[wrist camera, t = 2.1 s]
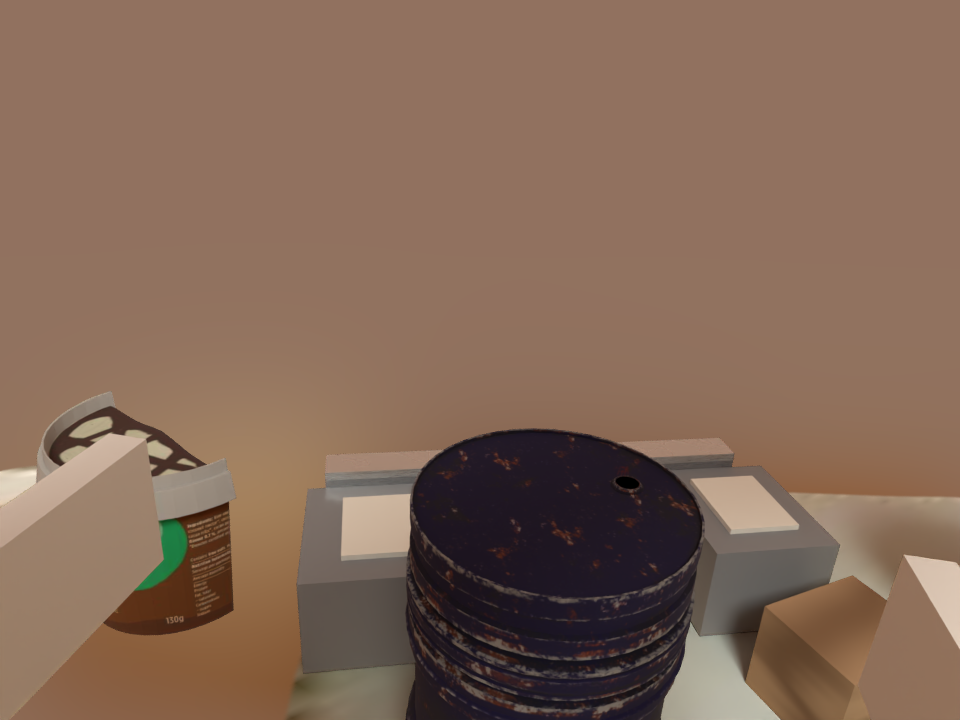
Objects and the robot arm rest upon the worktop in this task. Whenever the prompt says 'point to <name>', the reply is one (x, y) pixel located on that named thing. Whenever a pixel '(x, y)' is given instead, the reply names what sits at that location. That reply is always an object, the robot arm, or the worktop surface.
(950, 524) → the worktop surface
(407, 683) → the worktop surface
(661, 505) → the rusty oil drum
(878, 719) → the robot arm
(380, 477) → the rail
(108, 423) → the food container
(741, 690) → the worktop surface
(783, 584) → the module block
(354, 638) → the block
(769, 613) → the walnut block
